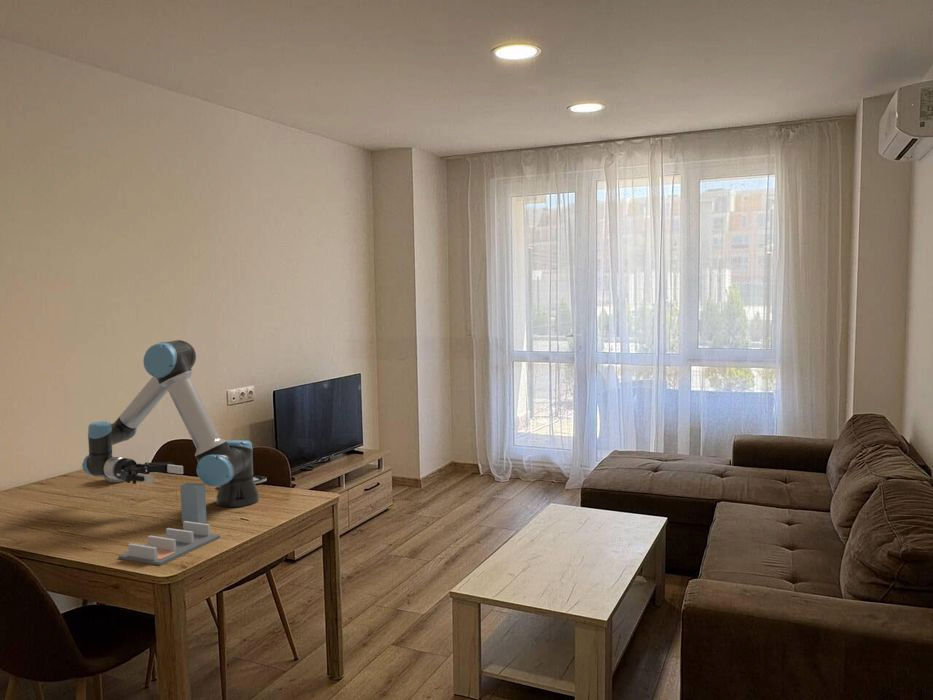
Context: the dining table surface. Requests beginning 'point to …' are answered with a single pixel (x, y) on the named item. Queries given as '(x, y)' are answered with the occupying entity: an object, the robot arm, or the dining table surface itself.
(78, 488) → the dining table surface
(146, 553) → the rack
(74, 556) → the dining table surface
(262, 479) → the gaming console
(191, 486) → the tall grey pillar
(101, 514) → the dining table surface
